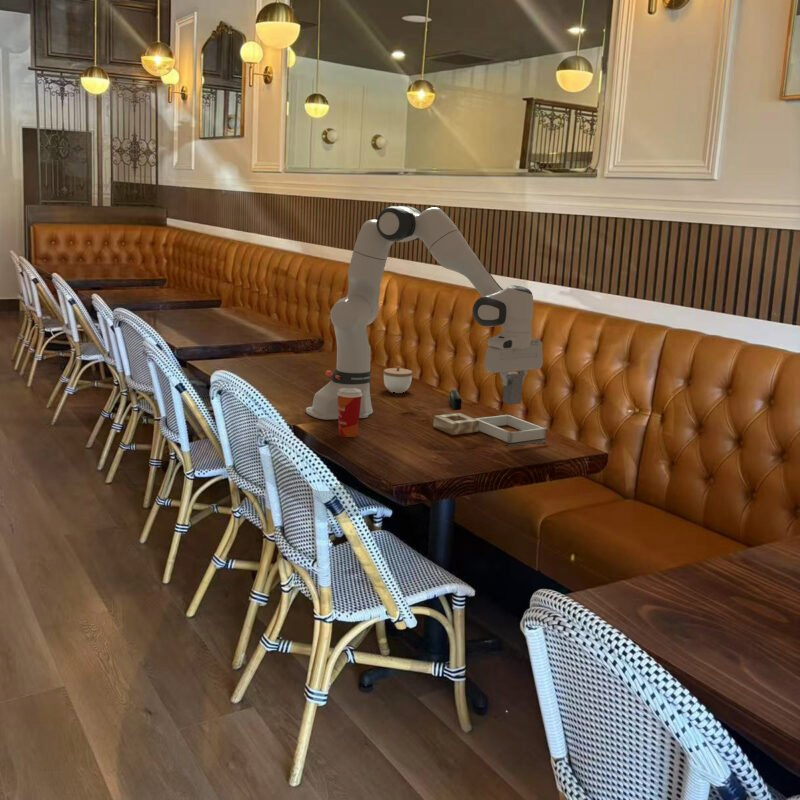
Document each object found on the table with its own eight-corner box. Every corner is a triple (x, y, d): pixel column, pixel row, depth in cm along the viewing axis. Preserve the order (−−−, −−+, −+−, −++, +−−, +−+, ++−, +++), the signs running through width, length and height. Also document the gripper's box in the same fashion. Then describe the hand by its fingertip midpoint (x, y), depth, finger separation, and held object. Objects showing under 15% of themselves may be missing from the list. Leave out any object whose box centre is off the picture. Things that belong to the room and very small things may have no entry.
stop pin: (510, 404, 265) (512, 375, 263) (502, 401, 269) (504, 373, 267) (520, 403, 267) (523, 374, 265) (512, 400, 271) (514, 372, 269)
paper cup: (335, 431, 268) (336, 386, 264) (360, 432, 268) (362, 387, 265) (335, 438, 260) (337, 392, 257) (361, 439, 261) (363, 393, 258)
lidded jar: (399, 395, 319) (401, 370, 317) (376, 390, 325) (377, 366, 323) (417, 391, 327) (418, 367, 325) (394, 386, 333) (395, 362, 331)
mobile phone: (463, 398, 300) (455, 387, 315) (454, 398, 300) (447, 387, 314) (462, 412, 301) (454, 400, 316) (453, 412, 301) (446, 400, 315)
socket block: (451, 439, 265) (452, 423, 264) (433, 431, 274) (433, 415, 272) (477, 436, 271) (478, 420, 269) (458, 428, 279) (459, 412, 278)
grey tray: (508, 447, 260) (510, 433, 259) (472, 432, 274) (473, 418, 273) (544, 442, 267) (545, 428, 266) (507, 428, 282) (508, 414, 281)
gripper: (535, 336, 272) (532, 380, 275) (483, 340, 261) (480, 385, 264) (549, 340, 267) (545, 384, 270) (496, 343, 256) (493, 389, 259)
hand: (512, 384), depth 267 cm, fingers closed on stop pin, 4 cm apart
